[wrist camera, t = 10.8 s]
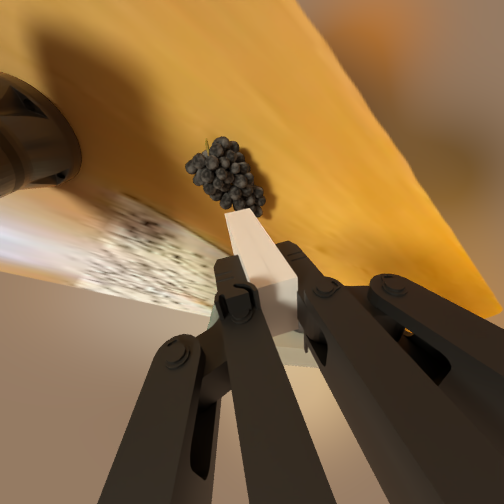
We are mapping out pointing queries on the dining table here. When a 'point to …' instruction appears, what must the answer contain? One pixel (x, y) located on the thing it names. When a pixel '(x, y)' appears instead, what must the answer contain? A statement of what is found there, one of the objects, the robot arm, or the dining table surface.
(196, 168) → the fruit
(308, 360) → the cream rectangular block
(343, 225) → the dining table surface
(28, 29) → the dining table surface
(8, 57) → the dining table surface
